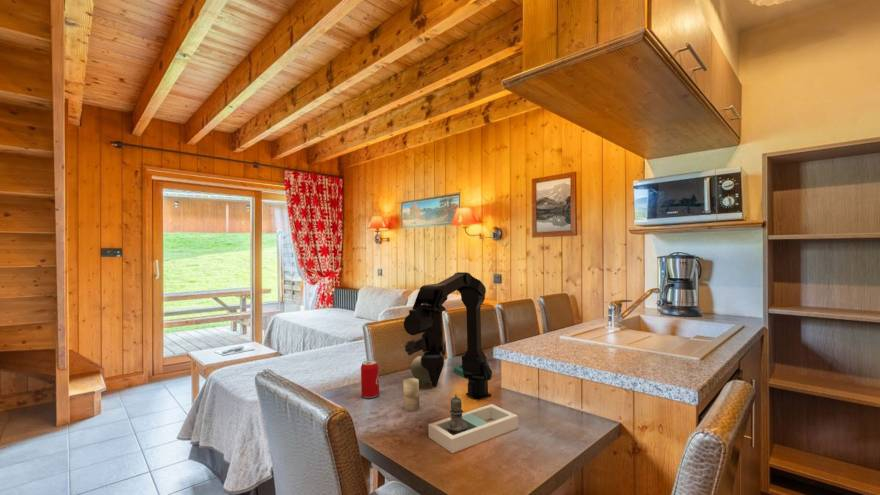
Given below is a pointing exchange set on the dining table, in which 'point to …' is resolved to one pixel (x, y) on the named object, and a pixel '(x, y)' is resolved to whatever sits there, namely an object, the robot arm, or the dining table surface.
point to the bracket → (460, 370)
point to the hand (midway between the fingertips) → (435, 381)
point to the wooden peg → (411, 394)
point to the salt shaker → (456, 417)
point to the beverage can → (370, 379)
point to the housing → (474, 428)
